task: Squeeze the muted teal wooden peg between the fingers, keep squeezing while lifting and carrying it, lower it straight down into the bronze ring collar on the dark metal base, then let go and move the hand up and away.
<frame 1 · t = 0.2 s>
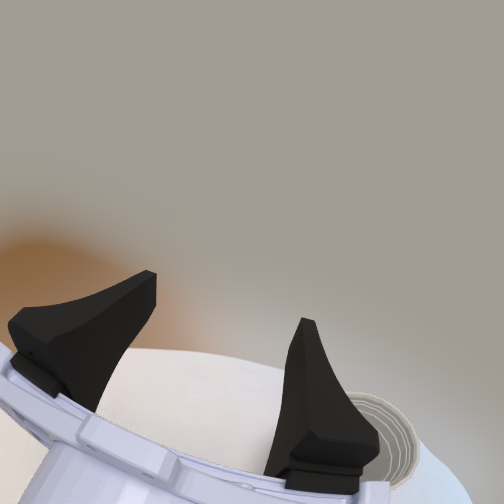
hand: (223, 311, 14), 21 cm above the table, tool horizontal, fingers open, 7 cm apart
plastic cup: (312, 480, 24), on the table
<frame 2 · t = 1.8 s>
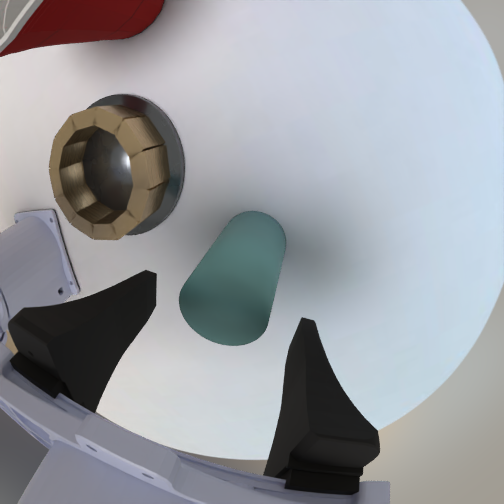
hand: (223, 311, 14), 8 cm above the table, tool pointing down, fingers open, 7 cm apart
peg: (254, 241, 21), on the table
candle: (31, 323, 35), on the table
plastic cup: (133, 4, 14), on the table
ring holder: (119, 165, 20), on the table
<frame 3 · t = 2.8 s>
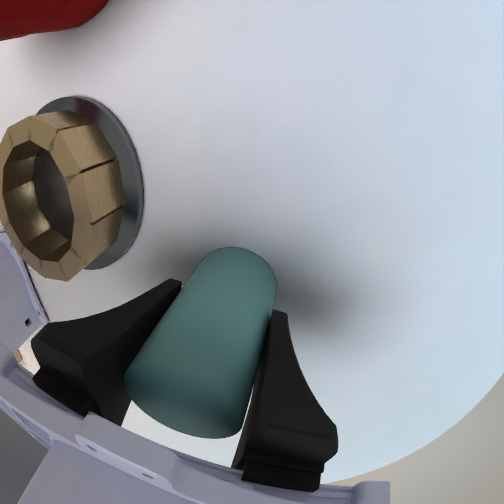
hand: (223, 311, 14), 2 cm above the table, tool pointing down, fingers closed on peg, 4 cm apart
peg: (235, 284, 16), on the table, touching gripper
candle: (10, 344, 30), on the table
ring holder: (71, 185, 15), on the table
when the fingers open (5 cm above the table, at t = 7.6 s): peg drops 2 cm, resting on ring holder.
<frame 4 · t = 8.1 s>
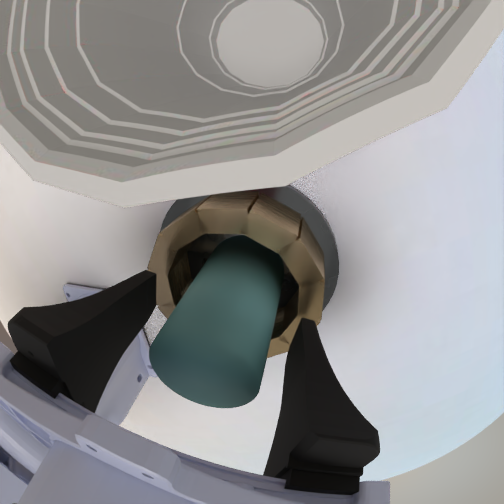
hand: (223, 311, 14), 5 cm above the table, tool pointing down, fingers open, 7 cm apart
peg: (246, 269, 17), point 1 cm above the table, touching ring holder
plastic cup: (270, 36, 12), on the table
ring holder: (245, 263, 18), on the table
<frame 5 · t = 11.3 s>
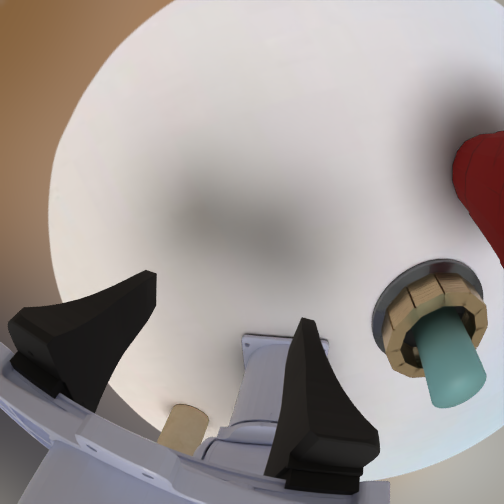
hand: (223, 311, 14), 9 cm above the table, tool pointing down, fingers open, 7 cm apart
peg: (433, 319, 21), point 1 cm above the table, touching ring holder
candle: (191, 413, 37), on the table
plastic cup: (480, 169, 16), on the table
ring holder: (429, 314, 22), on the table
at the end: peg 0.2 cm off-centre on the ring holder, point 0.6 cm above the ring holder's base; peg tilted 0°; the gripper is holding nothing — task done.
